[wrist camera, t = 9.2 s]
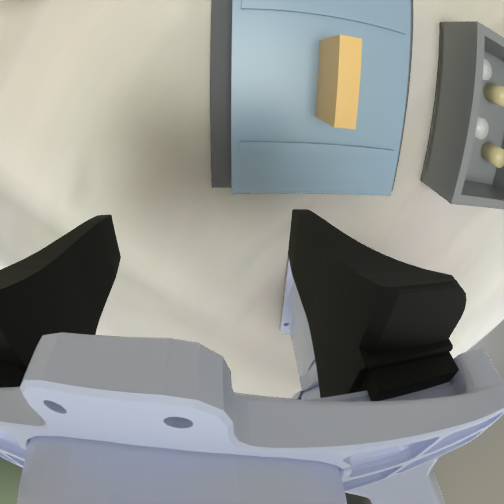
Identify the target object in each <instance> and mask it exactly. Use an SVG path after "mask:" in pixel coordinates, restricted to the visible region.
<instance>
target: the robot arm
mask: <svg viewBox="0 0 504 504" xmlns="http://www.w3.org/2000/svg"><path fill="white" fill-rule="evenodd" d="M288 256H289V259H288V267H287V276H286V284H285V292H284V301H283V309H282V316H281V324H280V332H281V333H282V334H291V338H292V343H293V348H294V352H295V357H296V361H297V366H298V371H299V375H300V383H301V387H302V391H300V392H298V393H296V394H295V395H294V396H293V398H292V399H290V398H278V397H268V396H258V395H250V394H242V393H235V392H233V389H232V384H231V371H230V369H229V367H228V366H227V364H226V362H225V360H224V358H223V356H221V355H219V354H217V353H215V352H214V351H212V350H210V349H208V348H206V347H205V346H203V345H201V344H199V343H197V342H191V341H185V340H179V339H174V338H145V337H120V336H102V335H95V334H96V329H97V326H98V322H99V319H100V316H101V314H102V311H103V308H104V306H105V303H106V301H107V298H108V296H109V293H110V291H111V288H112V286H113V283H114V280H115V278H116V274H117V271H118V267H119V262H120V258H121V256H120V252H119V248H118V244H117V240H116V235H115V231H114V226H113V221H112V216H111V215H98V216H96V217H93V218H91V219H89V220H88V221H86V222H84V223H83V224H81V225H79V226H78V227H76V228H75V229H73V230H72V231H70V232H69V233H67V234H66V235H64V236H62V237H61V238H59V239H58V240H56V241H54V242H53V243H51V244H50V245H48V246H47V247H45V248H43V249H42V250H40V251H38V252H36V253H35V254H33V255H31V256H29V257H27V258H25V259H23V260H21V261H19V262H17V263H15V264H12V265H10V266H8V267H6V268H4V269H1V270H0V457H2V458H4V459H6V460H8V461H10V462H12V463H14V464H16V465H18V466H21V467H23V471H22V476H21V481H20V487H19V493H18V499H17V504H347V502H346V497H345V492H346V493H351V494H355V495H360V496H363V497H367V498H369V499H370V501H371V503H372V504H446V503H445V501H444V498H443V495H442V492H441V490H440V487H439V485H438V482H437V480H436V478H435V475H434V473H433V470H432V467H433V465H434V464H435V462H436V461H437V459H438V457H440V456H442V455H444V454H446V453H448V452H450V451H452V450H454V449H456V448H458V447H460V446H462V445H464V444H466V443H468V442H470V441H472V440H473V439H475V438H476V437H477V436H479V435H480V434H481V433H482V432H483V431H484V430H486V429H487V428H488V427H489V426H491V425H492V424H493V423H494V422H495V421H496V420H497V419H499V418H500V417H501V416H502V415H503V414H504V382H503V381H502V379H501V377H500V375H499V373H498V372H497V370H496V368H495V366H494V365H493V363H492V361H491V360H490V358H489V356H488V355H487V353H486V351H485V350H484V348H478V349H475V350H472V351H468V352H465V353H462V354H460V355H458V356H457V357H455V358H454V359H453V358H452V356H451V354H450V352H449V351H451V350H452V348H453V345H452V343H451V342H450V340H449V337H450V335H451V333H452V332H453V330H454V328H455V327H456V325H457V323H458V322H459V320H460V318H461V316H462V314H463V312H464V309H465V305H466V293H465V292H464V290H463V289H462V288H461V286H460V285H459V284H458V282H457V281H456V280H455V279H454V277H453V276H452V275H448V274H444V273H439V272H435V271H430V270H426V269H422V268H419V267H416V266H413V265H409V264H406V263H404V262H401V261H398V260H396V259H393V258H391V257H388V256H386V255H383V254H381V253H379V252H377V251H375V250H373V249H371V248H369V247H367V246H365V245H363V244H361V243H359V242H358V241H356V240H354V239H353V238H351V237H349V236H348V235H346V234H344V233H343V232H341V231H340V230H338V229H337V228H335V227H334V226H332V225H331V224H329V223H328V222H327V221H325V220H324V219H322V218H321V217H319V216H318V215H316V214H315V213H313V212H312V211H310V210H293V211H292V221H291V231H290V241H289V250H288Z"/></svg>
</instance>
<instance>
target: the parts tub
mask: <svg viewBox="0 0 504 504" xmlns="http://www.w3.org/2000/svg"><path fill="white" fill-rule="evenodd" d="M421 181H422V182H423V183H425V184H426V185H427V186H429V187H430V188H431V189H433V190H434V191H435V192H437V193H438V194H439V195H440V196H442V197H443V198H444V199H446V200H447V201H448V202H449V203H451V204H458V205H469V206H478V207H488V208H497V209H504V38H503V37H502V36H500V35H498V34H497V33H495V32H494V31H492V30H490V29H489V28H487V27H485V26H484V25H482V24H480V23H479V22H443V23H440V45H439V63H438V75H437V86H436V95H435V103H434V111H433V118H432V124H431V130H430V136H429V142H428V147H427V153H426V158H425V163H424V168H423V172H422V177H421Z"/></svg>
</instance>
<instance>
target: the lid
mask: <svg viewBox="0 0 504 504" xmlns="http://www.w3.org/2000/svg"><path fill="white" fill-rule="evenodd" d="M410 33H411V0H232V39H231V185H232V194H251V193H316V194H356V195H381V196H391V191H392V186H393V181H394V176H395V171H396V165H397V160H398V154H399V148H400V141H401V135H402V128H403V121H404V113H405V104H406V95H407V85H408V73H409V58H410Z"/></svg>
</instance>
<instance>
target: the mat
mask: <svg viewBox="0 0 504 504" xmlns="http://www.w3.org/2000/svg"><path fill="white" fill-rule="evenodd" d="M231 39H232V0H212V13H211V66H210V113H211V170H212V188H214V187H232V185H231ZM412 39H413V0H411V33H410V58H409V73H408V85H407V95H406V104H405V113H404V121H403V128H402V135H401V141H400V148H399V154H398V160H397V165H396V171H397V166H398V161H399V155H400V150H401V144H402V137H403V131H404V124H405V117H406V110H407V101H408V93H409V83H410V72H411V58H412ZM396 171H395V176H396ZM395 176H394V181H395ZM394 181H393V186H394ZM393 186H392V191H393Z"/></svg>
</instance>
